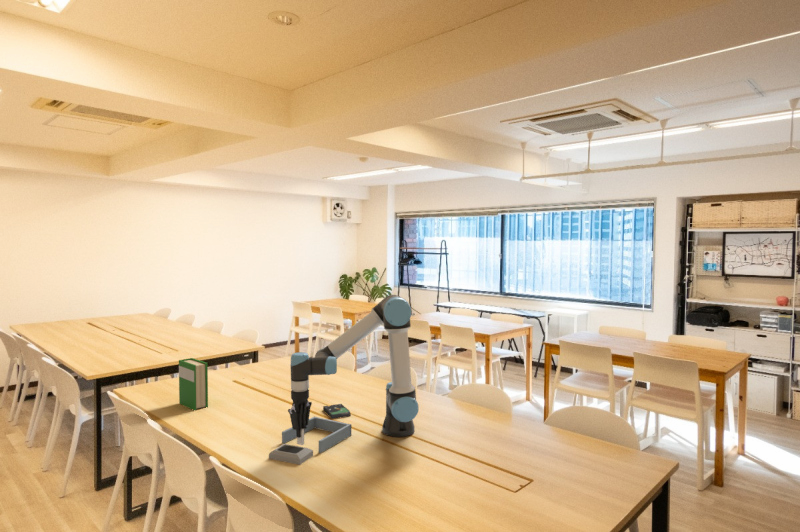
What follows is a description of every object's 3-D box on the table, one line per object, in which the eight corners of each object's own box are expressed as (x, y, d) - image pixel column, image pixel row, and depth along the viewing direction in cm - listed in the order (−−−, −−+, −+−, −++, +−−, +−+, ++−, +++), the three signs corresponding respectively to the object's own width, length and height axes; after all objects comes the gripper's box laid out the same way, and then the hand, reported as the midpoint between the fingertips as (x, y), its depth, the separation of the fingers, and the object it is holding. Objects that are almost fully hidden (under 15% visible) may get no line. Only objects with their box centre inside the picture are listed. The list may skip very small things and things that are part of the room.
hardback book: (208, 407, 264) (207, 362, 263) (194, 410, 259) (193, 365, 258) (192, 400, 276) (192, 357, 275) (179, 403, 270) (178, 360, 269)
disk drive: (322, 411, 260) (331, 419, 247) (322, 406, 260) (331, 414, 247) (341, 408, 265) (351, 416, 251) (341, 403, 265) (351, 411, 251)
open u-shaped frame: (351, 435, 226) (351, 424, 225) (320, 453, 206) (320, 441, 206) (314, 426, 236) (314, 416, 236) (282, 443, 216) (281, 431, 216)
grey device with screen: (300, 456, 195) (268, 450, 200) (300, 465, 195) (268, 459, 200) (313, 447, 204) (282, 442, 209) (313, 456, 204) (282, 450, 209)
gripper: (303, 384, 217) (303, 437, 218) (282, 392, 206) (283, 447, 207) (316, 386, 214) (317, 440, 215) (296, 394, 202) (297, 451, 203)
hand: (300, 443), depth 211 cm, fingers closed
